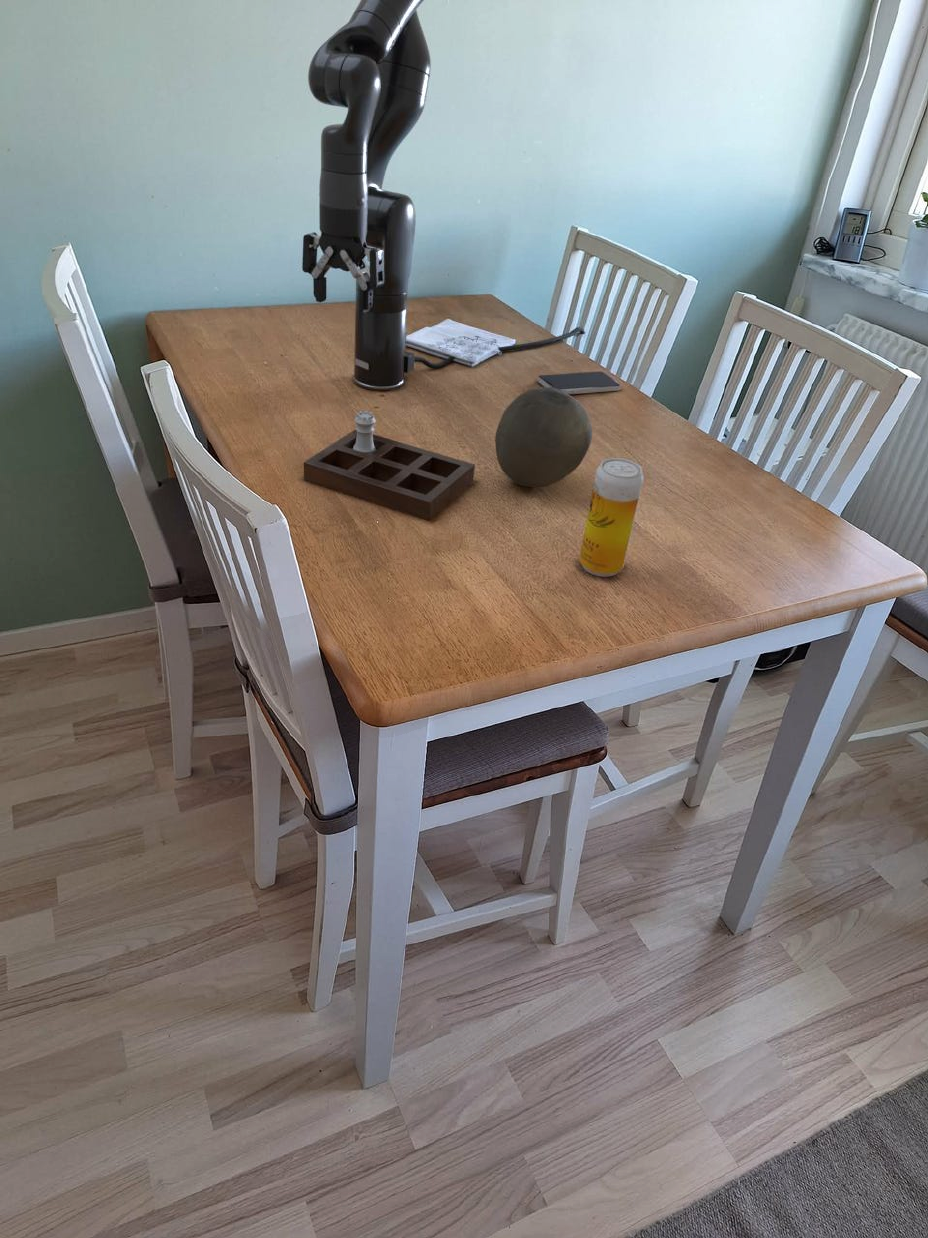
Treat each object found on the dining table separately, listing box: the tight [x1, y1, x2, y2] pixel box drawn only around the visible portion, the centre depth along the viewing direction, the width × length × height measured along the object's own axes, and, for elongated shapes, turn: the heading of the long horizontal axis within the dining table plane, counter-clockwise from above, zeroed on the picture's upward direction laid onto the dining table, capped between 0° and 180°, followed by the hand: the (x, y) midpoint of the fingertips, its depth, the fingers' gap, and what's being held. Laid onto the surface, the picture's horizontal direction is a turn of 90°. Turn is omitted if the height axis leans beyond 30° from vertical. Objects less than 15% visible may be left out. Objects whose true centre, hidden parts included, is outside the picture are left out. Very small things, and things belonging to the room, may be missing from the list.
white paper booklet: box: [406, 318, 516, 368], centre depth 189 cm, size 19×20×2 cm
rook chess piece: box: [353, 410, 377, 454], centre depth 139 cm, size 4×4×8 cm
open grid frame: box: [303, 428, 476, 521], centre depth 136 cm, size 15×21×3 cm
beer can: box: [579, 457, 644, 578], centre depth 118 cm, size 6×6×15 cm
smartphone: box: [537, 371, 622, 395], centre depth 177 cm, size 8×1×15 cm
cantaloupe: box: [494, 386, 593, 488], centre depth 136 cm, size 14×14×15 cm
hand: (342, 306), depth 149 cm, fingers open, 8 cm apart
